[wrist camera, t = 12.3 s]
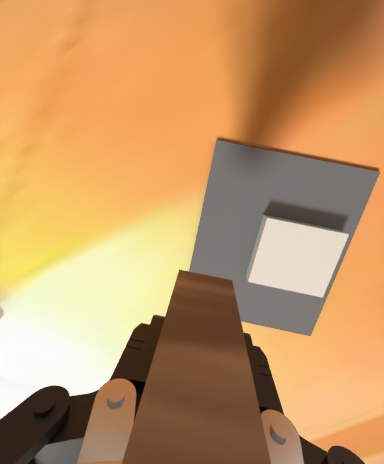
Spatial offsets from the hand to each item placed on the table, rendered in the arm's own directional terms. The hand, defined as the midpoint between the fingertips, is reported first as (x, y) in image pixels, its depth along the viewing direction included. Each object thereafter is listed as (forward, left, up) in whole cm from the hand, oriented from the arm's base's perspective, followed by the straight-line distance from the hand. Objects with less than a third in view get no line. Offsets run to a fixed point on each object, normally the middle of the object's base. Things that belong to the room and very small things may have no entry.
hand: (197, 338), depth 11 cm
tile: (-1, +6, -15) cm, 17 cm away
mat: (-1, +8, -17) cm, 19 cm away
